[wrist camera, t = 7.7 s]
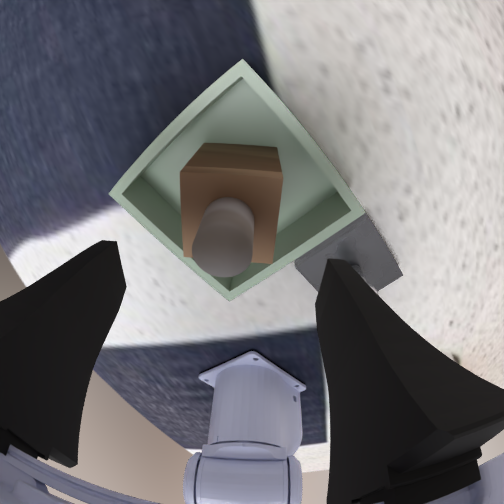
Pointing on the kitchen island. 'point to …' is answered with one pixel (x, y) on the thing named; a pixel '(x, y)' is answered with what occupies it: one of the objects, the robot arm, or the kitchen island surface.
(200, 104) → the bin
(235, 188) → the brown square bottle
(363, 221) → the stud plate
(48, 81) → the kitchen island surface
